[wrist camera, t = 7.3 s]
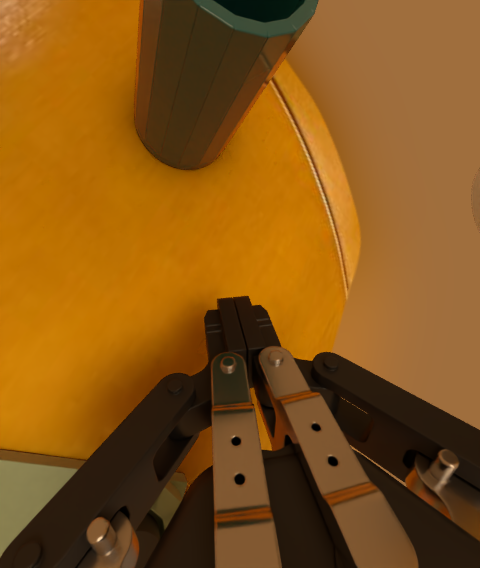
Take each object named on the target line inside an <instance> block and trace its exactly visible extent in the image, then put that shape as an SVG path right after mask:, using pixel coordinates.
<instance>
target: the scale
mask: <svg viewBox="0 0 480 568" xmlns="http://www.w3.org/2000/svg"><path fill="white" fill-rule="evenodd" d="M85 462H86V461H85V460H78V459H70V458H62V457H54V456H47V455H39V454H31V453H24V452H16V451H8V450H1V449H0V557H1V556H2V554H3V552H4V551H5V549H6V548H7V547H8V545H9V544H10V543H11V542H12V541H13V540H14V539H15V538H16V536H17V535H18V534H19V533H20V532H21V531H22V530H23V529H24V528H25V527H26V526H27V525H28V523H29V522H30V521H31V520H32V519H33V518H34V517H35V516H36V515H37V514H38V513H39V512H40V511H41V509H42V508H43V507H44V506H45V505H46V504H47V503H48V502H49V501H50V500H51V499H52V498H53V496H54V495H55V494H56V493H57V492H58V491H59V490H60V489H61V488H62V487H63V486H64V485H65V483H66V482H67V481H68V480H69V479H70V478H71V477H72V476H73V475H74V474H75V473H76V472H77V470H78V469H79V468H80V467H81V466H82V465H83V464H84V463H85ZM186 486H187V480H186V477H185V475H184V473H178V472H175V473H174V474H173V476H172V477H171V479H170V480H169V482H168V483H167V485H166V486H165V488H164V489H163V491H162V492H161V494H160V495H159V497H158V498H157V499H156V501H155V502H154V504H153V505H152V507H151V508H150V510H149V511H148V513H149V514H150V515H152V516H153V517H154V518H155V520H156V521H157V524H158V527H159V533H160V538H161V536H162V534H163V533H164V531H165V529H166V527H167V526H168V524H169V522H170V520H171V518H172V517H173V515H174V513H175V511H176V510H177V508H178V506H179V504H180V503H181V501H182V499H183V496H184V493H185V489H186Z"/></svg>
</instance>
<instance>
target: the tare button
mask: <svg viewBox="0 0 480 568" xmlns="http://www.w3.org/2000/svg"><path fill="white" fill-rule="evenodd" d="M135 533H136V535H137V538H138V541H139V555H138V559H137V562H136V565H135V567H134V568H144V566H145V564H146V563H147V561H148V559H149V557H150V556H151V554H152V552H153V550H154V548H155V547H156V545H157V543H158V541H159V540H160V533H159V527H158V524H157V521H156V520H155V518H154V517H153V516H152V515H150V514H149V513H147V514H146V516H145V517H144V519H143V520H142V522H141V523H140V525H139V526H138V528H137V529H136V531H135Z"/></svg>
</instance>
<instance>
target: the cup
mask: <svg viewBox="0 0 480 568" xmlns="http://www.w3.org/2000/svg"><path fill="white" fill-rule="evenodd" d="M317 4H318V0H140V6H139V24H138V41H137V59H136V77H135V94H134V120H135V126H136V130H137V132H138V135H139V137H140V139H141V141H142V142H143V144H144V145H145V147H146V148H147V149H148V150H149V151H150V152H151V153H152V154H153V155H154V156H155V157H156V158H157V159H159V160H160V161H162V162H164V163H166V164H167V165H170V166H172V167H175V168H179V169H186V170H192V169H199V168H202V167H205V166H207V165H209V164H210V163H212V162H213V161H214V160H216V159H217V157H218V156H219V155H220V154H221V152H222V151H223V150H224V149H225V147H226V146H227V144H228V143H229V141H230V140H231V138H232V137H233V135H234V134H235V132H236V131H237V129H238V128H239V126H240V125H241V123H242V122H243V120H244V119H245V117H246V116H247V114H248V113H249V111H250V110H251V108H252V107H253V105H254V104H255V102H256V101H257V99H258V98H259V96H260V95H261V93H262V92H263V90H264V89H265V87H266V86H267V84H268V83H269V81H270V80H271V78H272V77H273V75H274V74H275V72H276V71H277V69H278V68H279V66H280V65H281V63H282V62H283V60H284V59H285V57H286V56H287V54H288V53H289V51H290V50H291V48H292V47H293V45H294V44H295V42H296V41H297V39H298V38H299V36H300V35H301V33H302V32H303V30H304V29H305V27H306V25H307V24H308V23H309V21H310V20H311V18H312V17H313V15H314V13H315V10H316V7H317Z"/></svg>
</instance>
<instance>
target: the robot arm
mask: <svg viewBox="0 0 480 568" xmlns="http://www.w3.org/2000/svg"><path fill="white" fill-rule="evenodd" d="M217 308H218V309H217V310H208V311H207V313H206V315H205V317H204V323H205V335H206V345H207V353H208V361H209V362H208V364H207V366H206V367H205V368H204V369H203V370H202V371H201V372H199V373H197V374H195V375H193V376H188V375H186V374H183V373H174V374H170V375H168V376H166V377H164V378H163V379H162V380H161V381H160V382H159V383H158V384H157V385H156V386H155V387H154V388H153V389H152V390H151V392H150V393H149V394H148V395H147V396H146V397H145V398H144V399H143V400H142V401H141V402H140V403H139V405H138V406H137V407H136V408H135V409H134V410H133V411H132V412H131V413H130V414H129V415H128V416H127V418H126V419H125V420H124V421H123V422H122V423H121V424H120V425H119V426H118V427H117V428H116V429H115V430H114V432H113V433H112V434H111V435H110V436H109V437H108V438H107V439H106V440H105V441H104V442H103V443H102V445H101V446H100V447H99V448H98V449H97V450H96V451H95V452H94V453H93V454H92V455H91V456H90V458H89V459H88V460H87V461H86V462H85V463H84V464H83V465H82V466H81V467H80V468H79V469H78V470H77V472H76V473H75V474H74V475H73V476H72V477H71V478H70V479H69V480H68V481H67V482H66V483H65V485H64V486H63V487H62V488H61V489H60V490H59V491H58V492H57V493H56V494H55V495H54V496H53V498H52V499H51V500H50V501H49V502H48V503H47V504H46V505H45V506H44V507H43V508H42V509H41V511H40V512H39V513H38V514H37V515H36V516H35V517H34V518H33V519H32V520H31V521H30V522H29V523H28V525H27V526H26V527H25V528H24V529H23V530H22V531H21V532H20V533H19V534H18V535H17V536H16V538H15V539H14V540H13V541H12V542H11V543H10V544H9V545H8V547H7V548H6V549H5V551H4V552H3V554H2V556H1V557H0V568H134V567H135V565H136V562H137V559H138V555H139V541H138V538H137V535H136V533H135V531H136V529H137V528H138V526H139V525H140V523H141V522H142V520H143V519H144V517H145V516H146V514H147V513H148V511H149V510H150V508H151V507H152V505H153V504H154V502H155V501H156V499H157V498H158V497H159V495H160V494H161V492H162V491H163V489H164V488H165V486H166V485H167V483H168V482H169V480H170V479H171V477H172V476H173V474H174V473H175V471H176V470H177V468H178V467H179V465H180V464H181V462H182V461H183V459H184V458H185V456H186V455H187V453H188V452H189V450H190V449H191V447H192V446H193V444H194V443H195V441H196V440H197V438H198V436H199V433H200V431H202V430H204V429H206V428H208V427H210V426H212V449H213V465H212V466H210V467H209V468H207V469H206V470H205V471H204V472H202V473H201V474H200V475H199V476H198V477H197V478H196V479H195V480H194V482H193V483H192V485H191V486H190V487H189V489H188V490H187V492H186V494H185V496H184V497H183V499H182V501H181V503H180V504H179V506H178V508H177V510H176V511H175V513H174V515H173V517H172V518H171V520H170V522H169V524H168V526H167V527H166V529H165V531H164V533H163V534H162V536H161V538H160V540H159V541H158V543H157V545H156V547H155V548H154V550H153V552H152V554H151V556H150V557H149V559H148V561H147V563H146V564H145V566H144V568H480V430H479V429H477V428H475V427H473V426H471V425H469V424H467V423H465V422H464V421H462V420H460V419H458V418H456V417H454V416H452V415H450V414H449V413H447V412H445V411H443V410H441V409H439V408H437V407H435V406H433V405H431V404H430V403H428V402H426V401H424V400H422V399H420V398H418V397H416V396H415V395H413V394H411V393H409V392H407V391H405V390H403V389H401V388H400V387H398V386H396V385H394V384H392V383H390V382H388V381H386V380H385V379H383V378H381V377H379V376H377V375H375V374H373V373H371V372H369V371H368V370H366V369H364V368H362V367H360V366H358V365H356V364H354V363H352V362H351V361H349V360H347V359H345V358H343V357H341V356H339V355H337V354H335V353H331V352H323V353H319V354H317V355H316V356H315V357H314V359H313V361H308V360H300V359H296V358H293V357H292V355H291V353H290V352H289V351H288V350H286V349H284V348H282V347H281V344H280V342H279V339H278V337H277V335H276V332H275V330H274V327H273V326H272V322H271V320H270V317H269V315H268V312H267V311H266V310H265V309H264V308H263V307H262V306H261V305H254V306H252V304H251V302H250V299H249V296H241V297H233V298H232V297H231V298H221V299H217ZM250 388H254V390H255V394H256V397H257V405H258V408H259V411H260V414H261V417H262V419H263V422H264V425H265V428H266V431H267V434H268V437H269V439H270V442H271V446H272V451H269V450H261V444H260V438H259V432H258V426H257V420H256V413H255V408H254V404H252V401H251V395H250ZM341 397H342V398H343V399H342V398H341ZM344 399H345V400H344ZM346 400H347V401H348V402H347V401H346ZM349 402H350V403H349ZM351 403H352V404H353V405H352V404H351ZM354 405H355V406H354ZM357 407H358V408H357ZM359 408H360V409H361V410H360V409H359ZM362 410H363V411H362ZM364 411H365V412H366V413H365V412H364ZM367 413H368V414H367ZM349 444H350V445H351V446H353V447H354V448H355V449H357V450H358V451H360V452H361V453H363V454H364V455H366V456H367V457H368V458H370V459H371V460H373V461H374V462H376V463H377V464H379V465H380V466H381V467H383V468H384V469H386V470H388V471H389V472H390V473H392V474H393V475H395V476H396V477H397V478H399V479H400V480H402V481H403V482H405V483H406V486H407V487H405V486H404V485H403V484H401V483H400V482H399V481H397V480H396V479H394V478H393V477H392V476H390V475H389V474H388V473H386V472H385V471H384V470H382V469H381V468H380V467H378V466H377V465H376V464H374V463H373V462H371V461H370V460H369V459H367V458H366V457H365V456H363V455H362V454H360V453H359V452H357V451H355V450H353V449H352V448H351V446H350V445H349Z"/></svg>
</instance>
